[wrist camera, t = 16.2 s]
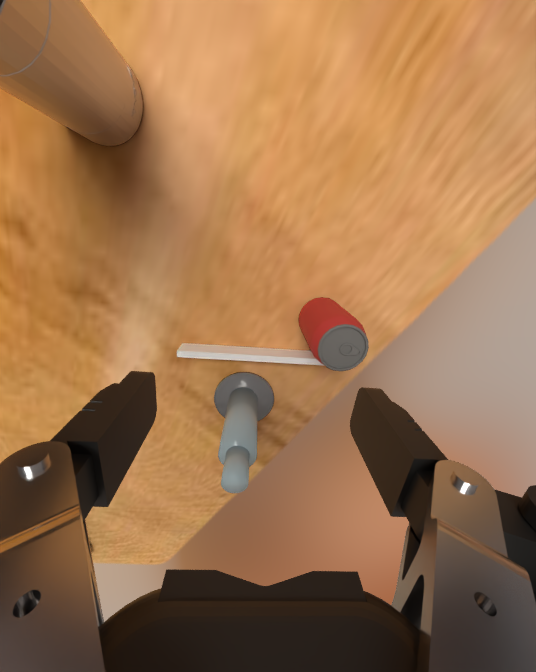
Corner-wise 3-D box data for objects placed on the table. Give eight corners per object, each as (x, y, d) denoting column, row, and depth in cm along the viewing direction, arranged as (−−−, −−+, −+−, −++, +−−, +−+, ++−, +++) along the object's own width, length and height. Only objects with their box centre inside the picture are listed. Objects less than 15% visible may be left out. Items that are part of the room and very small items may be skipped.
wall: (182, 348, 40) (177, 357, 38) (182, 342, 40) (176, 350, 37) (321, 357, 42) (325, 365, 39) (322, 351, 41) (326, 359, 39)
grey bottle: (228, 410, 44) (212, 498, 29) (229, 386, 43) (212, 466, 28) (256, 412, 45) (255, 499, 30) (258, 388, 43) (257, 467, 28)
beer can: (331, 342, 41) (358, 381, 30) (291, 331, 40) (304, 367, 29) (347, 303, 39) (384, 330, 28) (306, 290, 38) (327, 312, 27)
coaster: (214, 421, 45) (214, 422, 45) (214, 370, 42) (214, 371, 42) (271, 423, 46) (271, 425, 46) (276, 373, 43) (276, 375, 42)
